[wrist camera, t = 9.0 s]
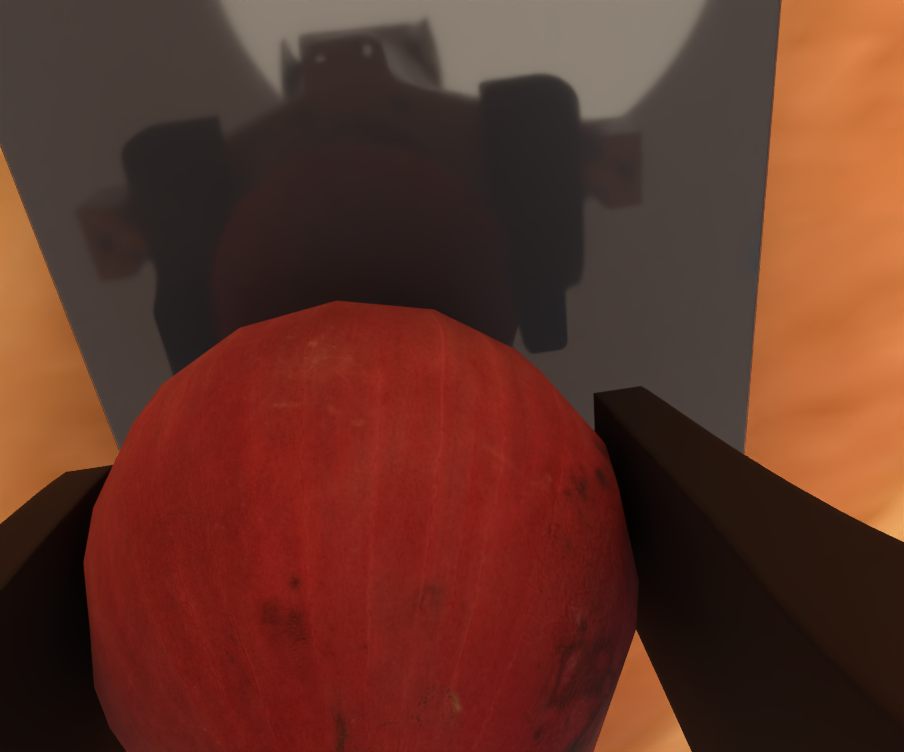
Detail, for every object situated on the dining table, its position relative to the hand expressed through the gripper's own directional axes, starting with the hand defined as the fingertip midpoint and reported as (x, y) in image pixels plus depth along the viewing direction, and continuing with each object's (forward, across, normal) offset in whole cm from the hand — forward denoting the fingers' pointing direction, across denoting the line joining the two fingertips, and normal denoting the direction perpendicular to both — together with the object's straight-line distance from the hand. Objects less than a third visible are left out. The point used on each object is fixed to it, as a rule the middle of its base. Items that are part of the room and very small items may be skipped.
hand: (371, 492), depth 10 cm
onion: (+3, 0, 0) cm, 3 cm away
